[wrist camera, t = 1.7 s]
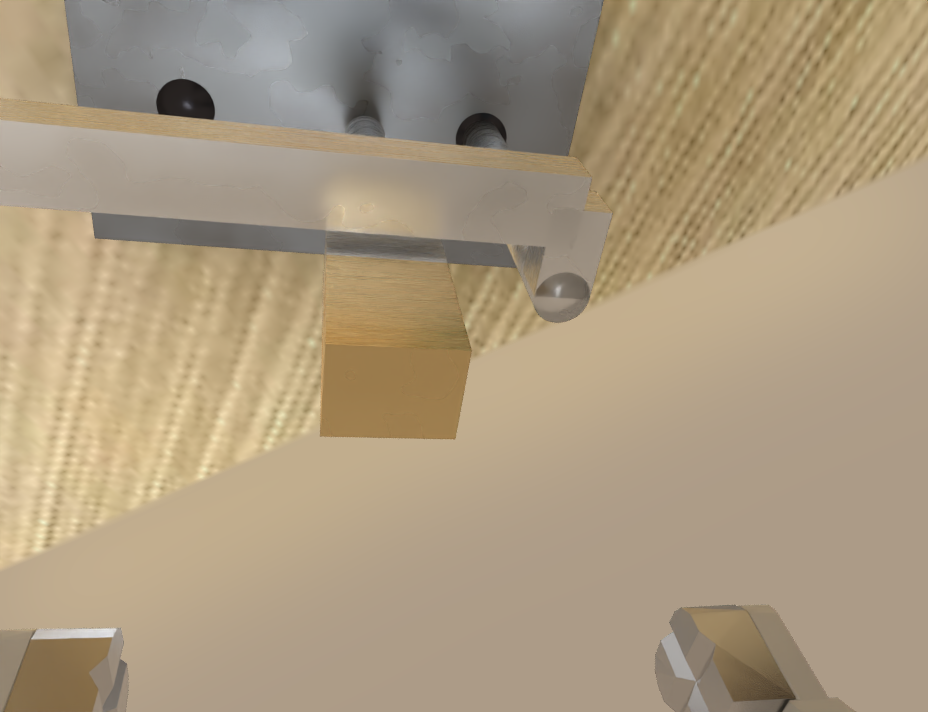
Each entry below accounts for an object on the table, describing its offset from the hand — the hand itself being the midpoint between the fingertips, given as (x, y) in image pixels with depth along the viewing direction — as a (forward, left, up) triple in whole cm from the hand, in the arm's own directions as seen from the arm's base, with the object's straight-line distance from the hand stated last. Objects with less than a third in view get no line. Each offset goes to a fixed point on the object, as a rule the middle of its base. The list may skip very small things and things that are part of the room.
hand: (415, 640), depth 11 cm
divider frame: (+2, -1, -24) cm, 25 cm away
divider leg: (0, 0, -24) cm, 24 cm away
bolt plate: (+1, 0, -26) cm, 26 cm away
